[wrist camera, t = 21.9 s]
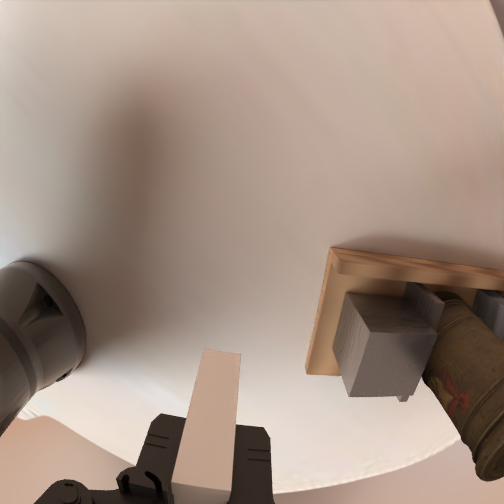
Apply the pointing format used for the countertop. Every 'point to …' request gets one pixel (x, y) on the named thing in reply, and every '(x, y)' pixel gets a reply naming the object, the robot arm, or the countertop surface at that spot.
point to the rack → (396, 293)
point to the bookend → (386, 341)
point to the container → (470, 382)
